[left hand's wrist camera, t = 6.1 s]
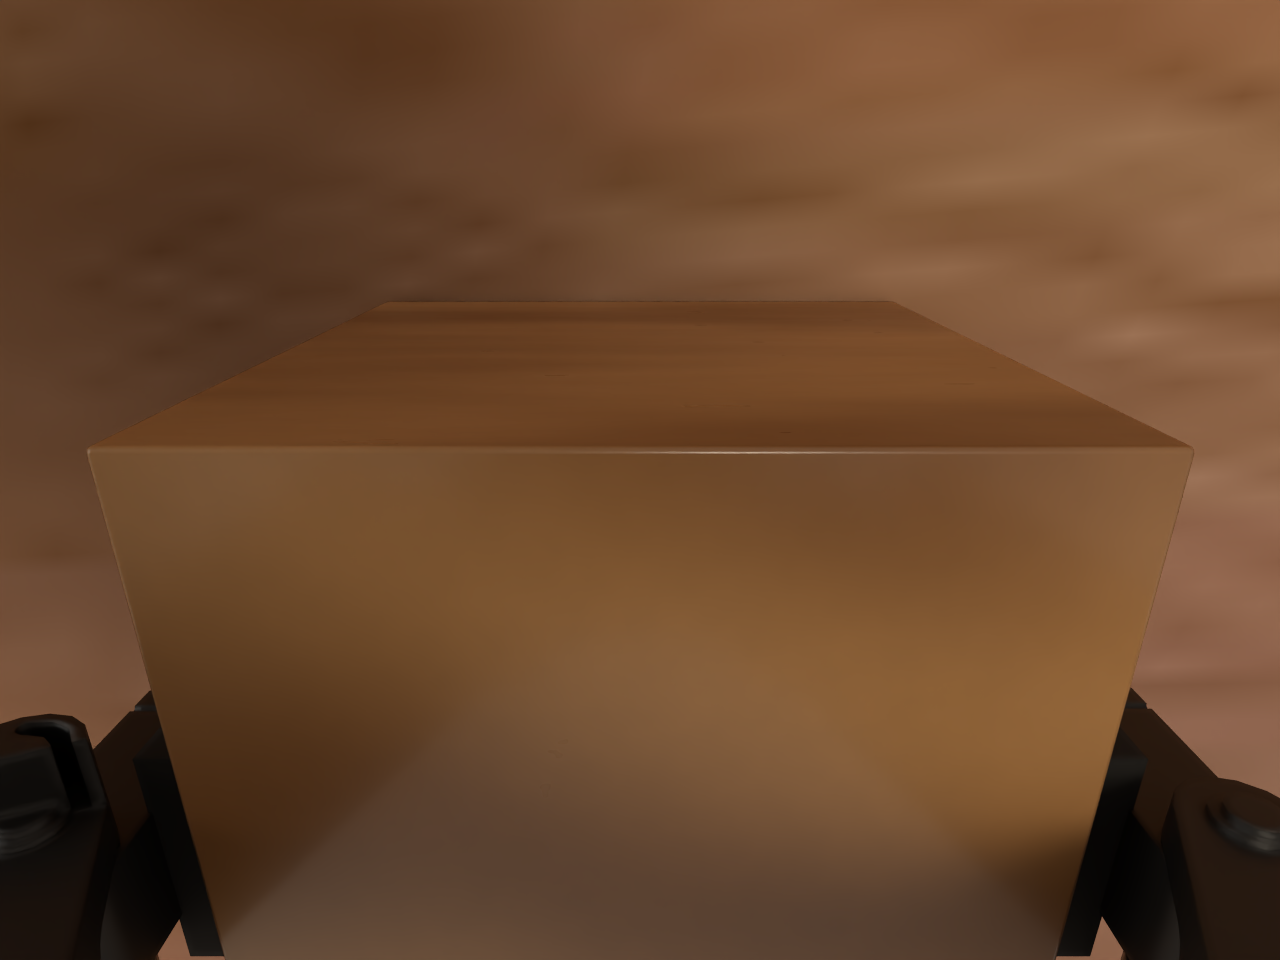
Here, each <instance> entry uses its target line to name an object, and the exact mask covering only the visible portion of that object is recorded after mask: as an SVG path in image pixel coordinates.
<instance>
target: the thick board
mask: <svg viewBox="0 0 1280 960" xmlns="http://www.w3.org/2000/svg"><path fill="white" fill-rule="evenodd" d="M1193 456H1194V449H1193V448H1192V447H1191V446H1189V445H1187V444H1185V443H1183V442H1181V441H1179V440H1177V439H1175V438H1173V437H1170V436H1168V435H1166V434H1164V433H1162V432H1160V431H1158V430H1156V429H1154V428H1152V427H1150V426H1148V425H1146V424H1144V423H1142V422H1140V421H1138V420H1135V419H1133V418H1131V417H1129V416H1127V415H1125V414H1123V413H1121V412H1119V411H1117V410H1115V409H1113V408H1111V407H1109V406H1107V405H1105V404H1103V403H1100V402H1098V401H1096V400H1094V399H1092V398H1090V397H1088V396H1086V395H1084V394H1082V393H1080V392H1078V391H1076V390H1074V389H1072V388H1070V387H1068V386H1065V385H1063V384H1061V383H1059V382H1057V381H1055V380H1053V379H1051V378H1049V377H1047V376H1045V375H1043V374H1041V373H1039V372H1037V371H1035V370H1033V369H1030V368H1028V367H1026V366H1024V365H1022V364H1020V363H1018V362H1016V361H1014V360H1012V359H1010V358H1008V357H1006V356H1004V355H1002V354H1000V353H998V352H995V351H993V350H991V349H989V348H987V347H985V346H983V345H981V344H979V343H977V342H975V341H973V340H971V339H969V338H967V337H965V336H962V335H960V334H958V333H956V332H954V331H952V330H950V329H948V328H946V327H944V326H942V325H940V324H938V323H936V322H934V321H932V320H930V319H927V318H925V317H923V316H921V315H919V314H917V313H915V312H913V311H911V310H909V309H907V308H905V307H903V306H901V305H899V304H897V303H894V302H386V303H384V304H382V305H380V306H378V307H376V308H374V309H372V310H370V311H368V312H365V313H363V314H361V315H359V316H357V317H355V318H353V319H351V320H349V321H347V322H345V323H343V324H341V325H339V326H337V327H335V328H333V329H330V330H328V331H326V332H324V333H322V334H320V335H318V336H316V337H314V338H312V339H310V340H308V341H306V342H304V343H302V344H300V345H297V346H295V347H293V348H291V349H289V350H287V351H285V352H283V353H281V354H279V355H277V356H275V357H273V358H271V359H269V360H267V361H265V362H262V363H260V364H258V365H256V366H254V367H252V368H250V369H248V370H246V371H244V372H242V373H240V374H238V375H236V376H234V377H232V378H230V379H227V380H225V381H223V382H221V383H219V384H217V385H215V386H213V387H211V388H209V389H207V390H205V391H203V392H201V393H199V394H197V395H195V396H192V397H190V398H188V399H186V400H184V401H182V402H180V403H178V404H176V405H174V406H172V407H170V408H168V409H166V410H164V411H162V412H160V413H157V414H155V415H153V416H151V417H149V418H147V419H145V420H143V421H141V422H139V423H137V424H135V425H133V426H131V427H129V428H127V429H125V430H122V431H120V432H118V433H116V434H114V435H112V436H110V437H108V438H106V439H104V440H102V441H100V442H98V443H96V444H94V445H92V446H90V447H88V449H87V457H88V461H89V464H90V468H91V472H92V475H93V479H94V482H95V486H96V490H97V493H98V497H99V501H100V504H101V508H102V512H103V515H104V519H105V523H106V526H107V530H108V534H109V537H110V541H111V545H112V548H113V552H114V556H115V559H116V563H117V566H118V570H119V574H120V577H121V581H122V585H123V588H124V592H125V596H126V599H127V603H128V607H129V610H130V614H131V618H132V621H133V625H134V629H135V632H136V636H137V640H138V643H139V647H140V650H141V654H142V658H143V661H144V665H145V669H146V672H147V676H148V680H149V683H150V687H151V691H152V694H153V698H154V702H155V705H156V709H157V713H158V716H159V720H160V724H161V727H162V731H163V734H164V738H165V742H166V745H167V749H168V753H169V756H170V760H171V764H172V767H173V771H174V775H175V778H176V782H177V786H178V789H179V793H180V797H181V800H182V804H183V808H184V811H185V815H186V818H187V822H188V826H189V829H190V833H191V837H192V840H193V844H194V848H195V851H196V855H197V859H198V862H199V866H200V870H201V873H202V877H203V881H204V884H205V888H206V892H207V895H208V899H209V902H210V906H211V910H212V913H213V917H214V921H215V924H216V928H217V932H218V935H219V939H220V943H221V946H222V950H223V954H224V957H225V960H1056V956H1057V952H1058V949H1059V945H1060V941H1061V938H1062V934H1063V930H1064V927H1065V923H1066V919H1067V916H1068V912H1069V909H1070V905H1071V901H1072V898H1073V894H1074V890H1075V887H1076V883H1077V879H1078V876H1079V872H1080V868H1081V865H1082V861H1083V857H1084V854H1085V850H1086V847H1087V843H1088V839H1089V836H1090V832H1091V828H1092V825H1093V821H1094V817H1095V814H1096V810H1097V806H1098V803H1099V799H1100V795H1101V792H1102V788H1103V785H1104V781H1105V777H1106V774H1107V770H1108V766H1109V763H1110V759H1111V755H1112V752H1113V748H1114V744H1115V741H1116V737H1117V733H1118V730H1119V726H1120V723H1121V719H1122V715H1123V712H1124V708H1125V704H1126V701H1127V697H1128V693H1129V690H1130V686H1131V682H1132V679H1133V675H1134V671H1135V668H1136V664H1137V660H1138V657H1139V653H1140V650H1141V646H1142V642H1143V639H1144V635H1145V631H1146V628H1147V624H1148V620H1149V617H1150V613H1151V609H1152V606H1153V602H1154V598H1155V595H1156V591H1157V588H1158V584H1159V580H1160V577H1161V573H1162V569H1163V566H1164V562H1165V558H1166V555H1167V551H1168V547H1169V544H1170V540H1171V536H1172V533H1173V529H1174V526H1175V522H1176V518H1177V515H1178V511H1179V507H1180V504H1181V500H1182V496H1183V493H1184V489H1185V485H1186V482H1187V478H1188V474H1189V471H1190V467H1191V464H1192V460H1193Z"/></svg>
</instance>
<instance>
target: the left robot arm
mask: <svg viewBox="0 0 1280 960" xmlns="http://www.w3.org/2000/svg"><path fill="white" fill-rule="evenodd" d="M1102 917H1103V918H1104V920H1105V922H1106V923H1107V925H1108V926H1109V928H1110V930H1111V931H1112V933H1113V934H1114V936H1115V938H1116V939H1117V941H1118V942H1119V944H1120V946H1121V947H1122V949H1123V950H1124V951H1123V954H1122V957H1121V960H1280V798H1279V797H1277V796H1275V795H1273V794H1271V793H1269V792H1267V791H1265V790H1262V789H1259V788H1256V787H1253V786H1251V785H1248V784H1245V783H1242V782H1239V781H1236V780H1229V779H1222V778H1218V777H1217V776H1216V775H1215V774H1214V773H1213V772H1212V771H1211V770H1210V769H1209V768H1208V767H1207V766H1206V765H1205V764H1204V763H1203V762H1202V761H1201V760H1200V758H1199V757H1198V756H1197V755H1196V754H1195V753H1194V752H1193V751H1192V750H1191V749H1190V748H1189V747H1188V746H1187V745H1186V744H1185V743H1184V742H1183V741H1182V740H1181V739H1180V738H1179V737H1178V736H1177V735H1176V734H1175V733H1174V732H1173V730H1172V729H1171V728H1170V727H1169V726H1168V725H1167V724H1166V723H1165V722H1164V721H1163V720H1162V719H1161V718H1160V717H1159V716H1158V715H1157V714H1156V713H1155V712H1154V711H1153V710H1152V709H1147V706H1146V703H1145V701H1144V700H1143V699H1142V698H1141V697H1140V696H1139V695H1138V694H1137V693H1136V692H1135V691H1134V690H1133V689H1132V688H1130V690H1129V693H1128V697H1127V701H1126V704H1125V708H1124V712H1123V715H1122V719H1121V723H1120V726H1119V730H1118V733H1117V737H1116V741H1115V744H1114V748H1113V752H1112V755H1111V759H1110V763H1109V766H1108V770H1107V774H1106V777H1105V781H1104V785H1103V788H1102V792H1101V795H1100V799H1099V803H1098V806H1097V810H1096V814H1095V817H1094V821H1093V825H1092V828H1091V832H1090V836H1089V839H1088V843H1087V847H1086V850H1085V854H1084V857H1083V861H1082V865H1081V868H1080V872H1079V876H1078V879H1077V883H1076V887H1075V890H1074V894H1073V898H1072V901H1071V905H1070V909H1069V912H1068V916H1067V919H1066V923H1065V927H1064V930H1063V934H1062V938H1061V941H1060V945H1059V949H1058V952H1057V956H1090V955H1091V951H1092V948H1093V945H1094V941H1095V938H1096V934H1097V931H1098V928H1099V924H1100V921H1101V918H1102ZM179 919H180V922H181V926H182V929H183V933H184V936H185V939H186V943H187V946H188V949H189V953H190V956H224V954H223V950H222V946H221V943H220V939H219V935H218V932H217V928H216V924H215V921H214V917H213V913H212V910H211V906H210V902H209V899H208V895H207V892H206V888H205V884H204V881H203V877H202V873H201V870H200V866H199V862H198V859H197V855H196V851H195V848H194V844H193V840H192V837H191V833H190V829H189V826H188V822H187V818H186V815H185V811H184V808H183V804H182V800H181V797H180V793H179V789H178V786H177V782H176V778H175V775H174V771H173V767H172V764H171V760H170V756H169V753H168V749H167V745H166V742H165V738H164V734H163V731H162V727H161V724H160V720H159V716H158V713H157V709H156V705H155V702H154V698H153V694H152V691H149V692H148V693H147V694H146V695H145V696H144V697H143V698H142V699H141V700H140V701H139V702H138V703H137V705H136V706H135V710H134V711H130V712H129V713H128V714H127V715H126V716H125V717H124V718H123V719H122V720H121V721H120V722H119V723H118V724H117V725H116V726H115V727H114V729H113V730H112V731H111V732H110V733H109V734H108V735H107V736H106V737H105V738H104V739H103V740H102V741H101V742H100V743H99V744H98V745H97V746H96V747H95V748H94V749H92V745H91V742H90V739H89V736H88V733H87V730H86V727H85V724H83V723H82V722H80V721H79V720H77V719H76V718H74V717H73V716H66V715H57V714H44V715H37V716H29V717H22V718H18V719H15V720H12V721H9V722H5V723H2V724H0V960H159V957H158V952H159V951H160V949H161V947H162V946H163V944H164V943H165V941H166V939H167V938H168V936H169V935H170V933H171V931H172V930H173V928H174V927H175V925H176V923H177V922H178V920H179Z"/></svg>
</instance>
